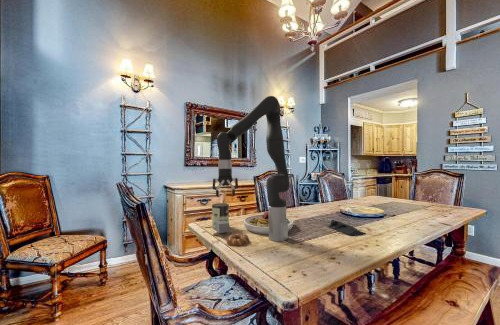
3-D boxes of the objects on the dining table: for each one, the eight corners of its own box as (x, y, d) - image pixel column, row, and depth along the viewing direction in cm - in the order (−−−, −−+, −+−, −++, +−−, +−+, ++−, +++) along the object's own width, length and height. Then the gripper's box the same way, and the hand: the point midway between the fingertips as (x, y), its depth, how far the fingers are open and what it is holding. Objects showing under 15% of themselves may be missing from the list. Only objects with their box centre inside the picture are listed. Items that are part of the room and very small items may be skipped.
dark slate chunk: (346, 239, 119) (346, 230, 119) (324, 227, 141) (324, 219, 141) (371, 237, 123) (371, 228, 123) (345, 225, 144) (345, 218, 144)
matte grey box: (225, 229, 130) (225, 220, 130) (229, 231, 125) (229, 222, 124) (215, 230, 127) (215, 221, 127) (219, 233, 122) (219, 224, 122)
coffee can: (229, 225, 145) (229, 203, 144) (227, 230, 134) (227, 206, 134) (213, 225, 145) (213, 203, 145) (210, 230, 134) (210, 206, 134)
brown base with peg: (231, 234, 127) (231, 223, 127) (223, 237, 121) (223, 226, 121) (221, 231, 131) (221, 221, 131) (213, 235, 125) (213, 224, 125)
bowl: (297, 236, 123) (297, 222, 123) (242, 236, 124) (242, 222, 123) (288, 221, 153) (288, 210, 153) (244, 221, 154) (244, 210, 153)
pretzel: (232, 249, 106) (232, 241, 106) (222, 242, 115) (222, 234, 115) (253, 243, 113) (253, 236, 113) (242, 237, 122) (242, 230, 122)
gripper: (236, 167, 134) (236, 195, 134) (211, 168, 130) (212, 196, 130) (238, 167, 126) (239, 196, 126) (212, 168, 123) (213, 198, 123)
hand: (225, 196), depth 128 cm, fingers open, 8 cm apart
